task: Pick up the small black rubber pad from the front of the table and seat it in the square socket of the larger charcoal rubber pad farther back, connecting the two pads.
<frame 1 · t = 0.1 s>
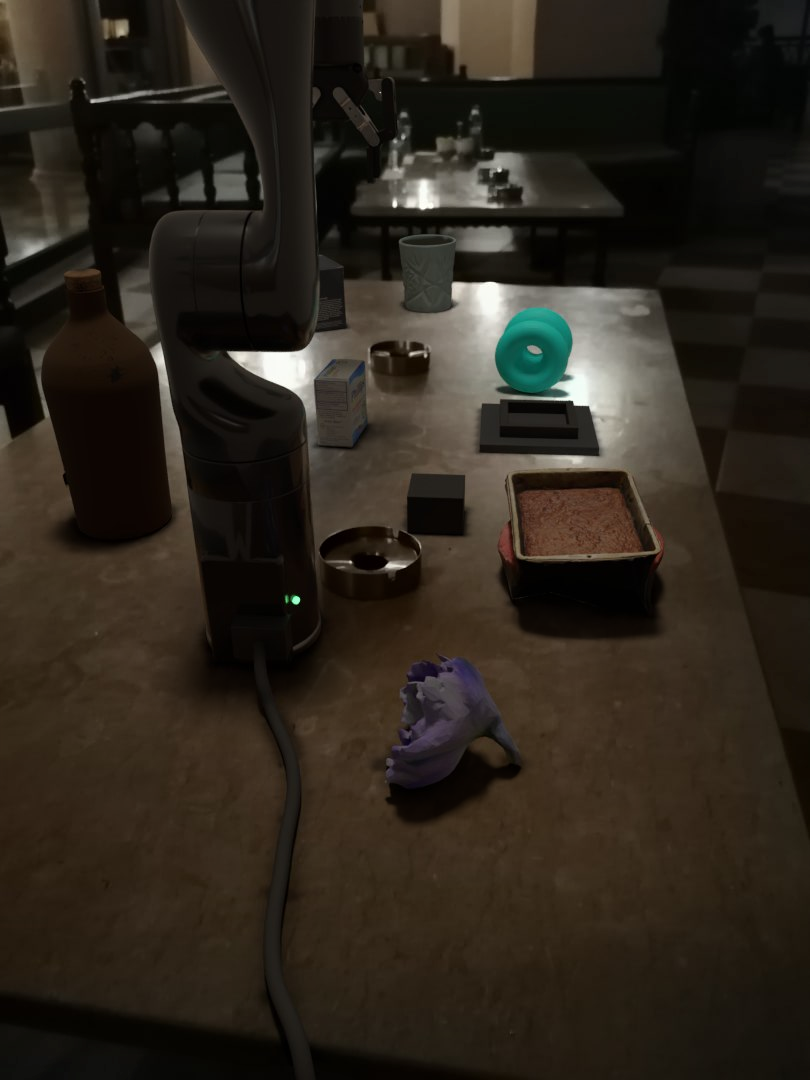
hand: (333, 182, 100), 29 cm above the table, tool pointing down, fingers open, 8 cm apart
grey green cup: (427, 307, 167), on the table
small box: (319, 323, 158), on the table
olive oil: (125, 520, 93), on the table
medicine box: (343, 437, 113), on the table
flower: (448, 761, 62), on the table
socket pad: (536, 431, 113), on the table
black pad: (436, 520, 92), on the table
donuts: (532, 385, 129), on the table
baking dish: (576, 579, 83), on the table
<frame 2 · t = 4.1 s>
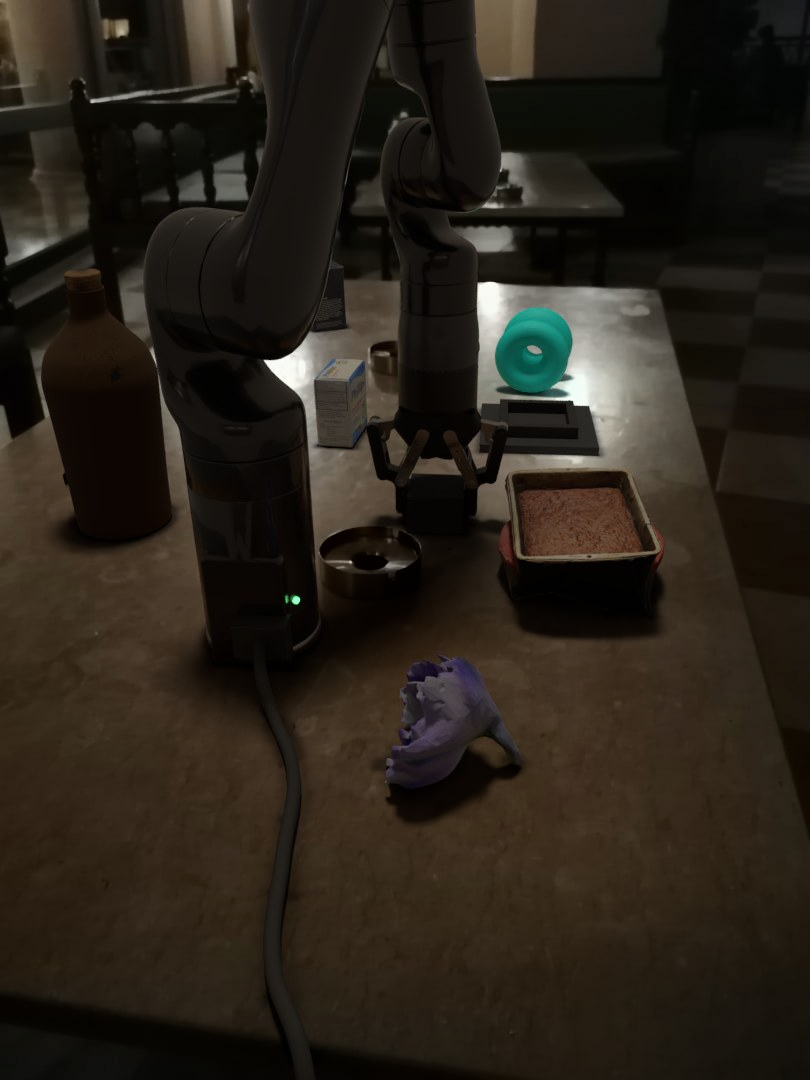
hand: (436, 516, 92), 1 cm above the table, tool pointing down, fingers closed on black pad, 5 cm apart
black pad: (436, 520, 92), on the table, touching gripper
everything else where it was.
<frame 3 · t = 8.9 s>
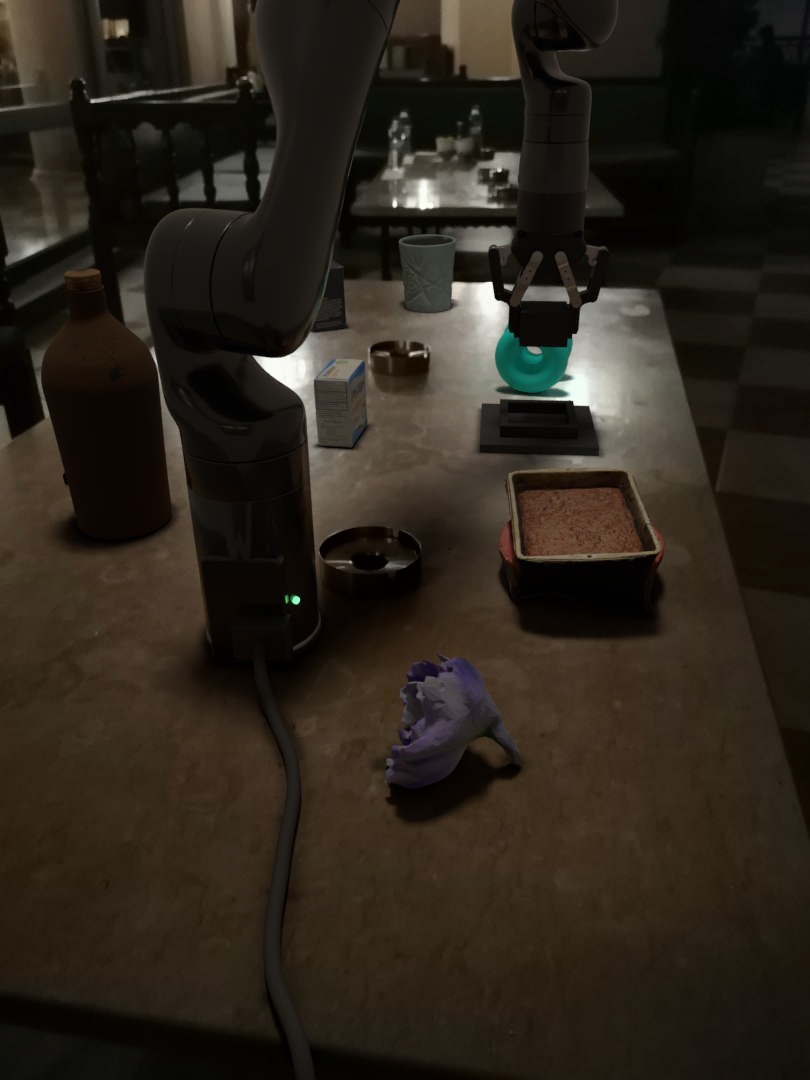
hand: (542, 336, 107), 12 cm above the table, tool pointing down, fingers closed on black pad, 5 cm apart
black pad: (542, 340, 108), point 12 cm above the table, touching gripper
everything else where it was.
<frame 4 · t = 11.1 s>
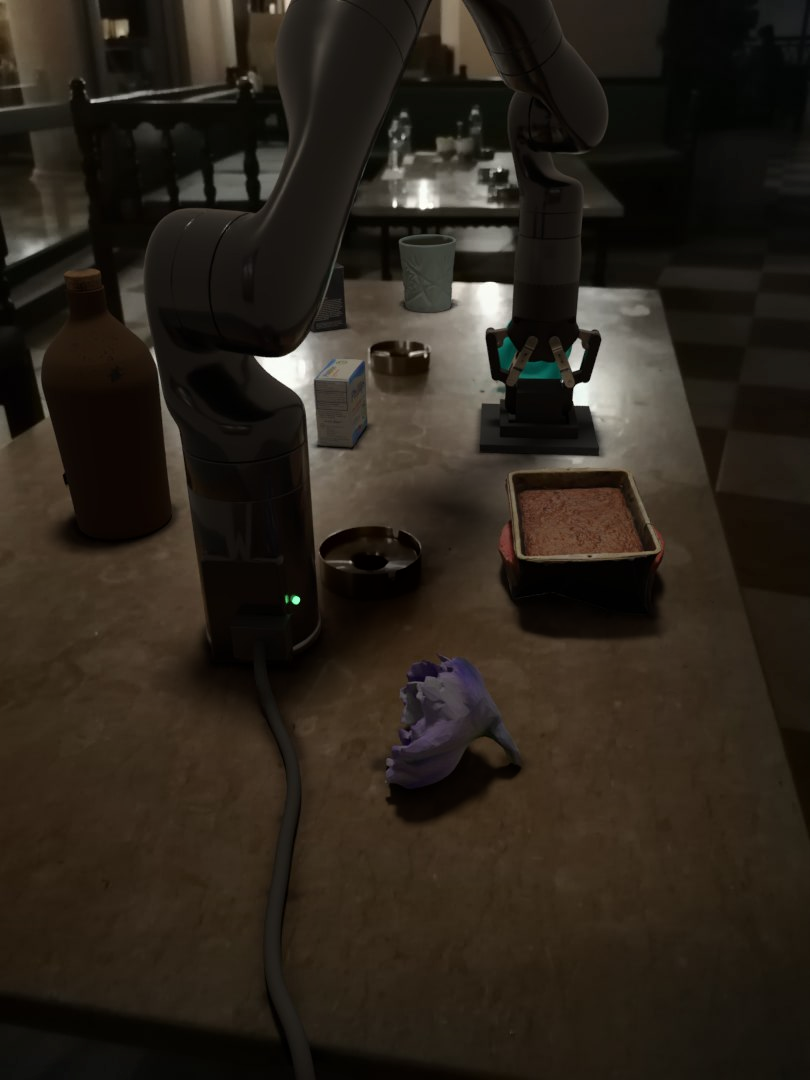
hand: (537, 412, 112), 2 cm above the table, tool pointing down, fingers closed on black pad, 5 cm apart
black pad: (537, 416, 112), point 2 cm above the table, touching gripper
everything else where it was.
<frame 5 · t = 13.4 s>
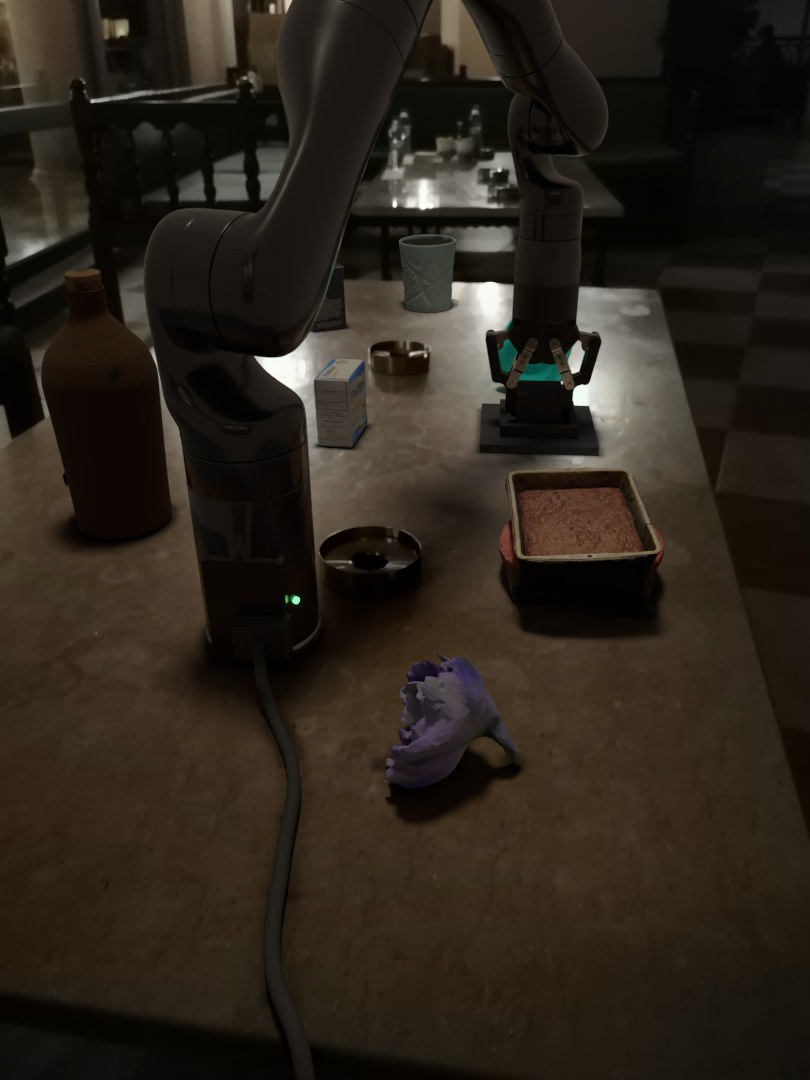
hand: (537, 414, 112), 2 cm above the table, tool pointing down, fingers closed on black pad, 5 cm apart
black pad: (537, 418, 112), point 2 cm above the table, touching gripper
everything else where it was.
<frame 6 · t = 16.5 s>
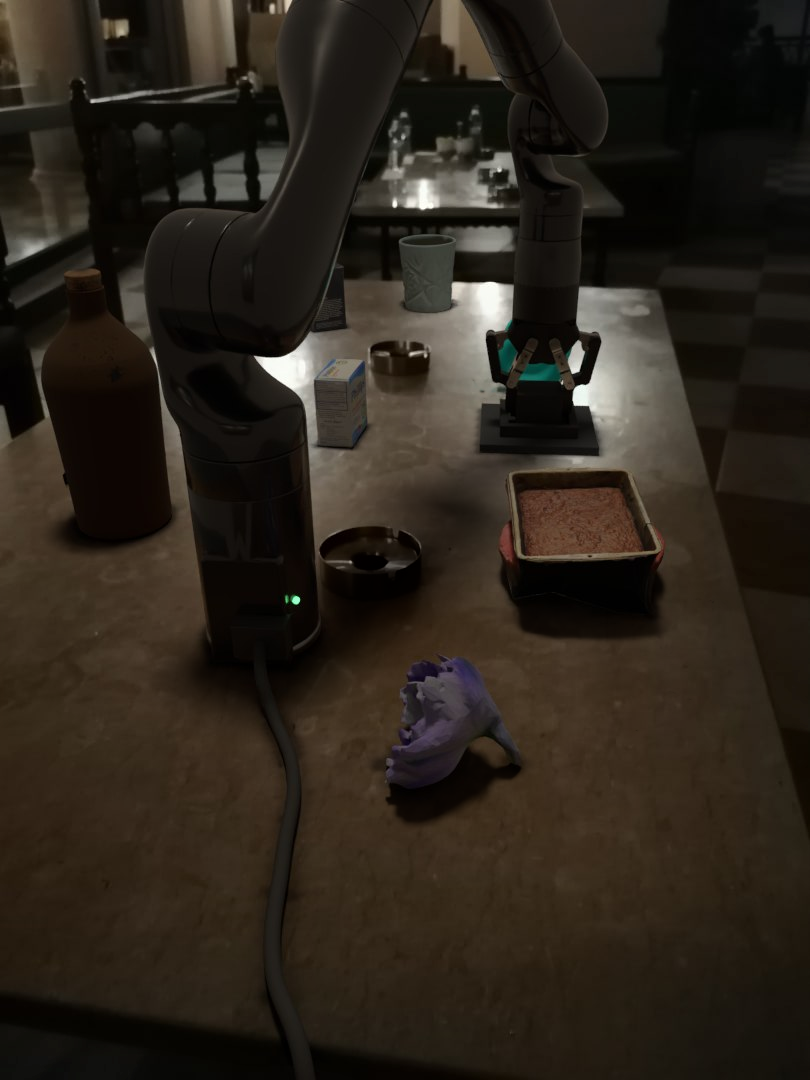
hand: (537, 414, 112), 2 cm above the table, tool pointing down, fingers closed on black pad, 5 cm apart
black pad: (537, 418, 112), point 2 cm above the table, touching gripper
everything else where it was.
when the fingers open (3 cm above the table, at t = 19.1 s): black pad drops 2 cm, resting on socket pad.
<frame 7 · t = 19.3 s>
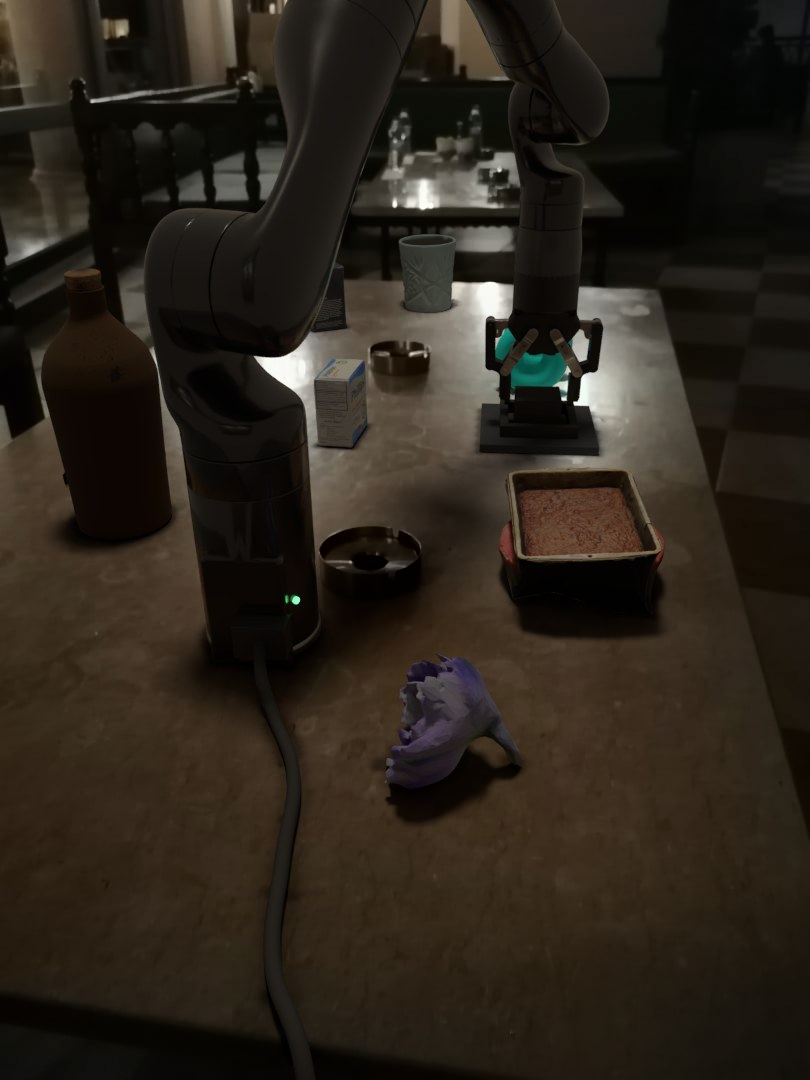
hand: (538, 403, 111), 4 cm above the table, tool pointing down, fingers open, 7 cm apart
black pad: (536, 424, 113), point 1 cm above the table, touching socket pad
everything else where it was.
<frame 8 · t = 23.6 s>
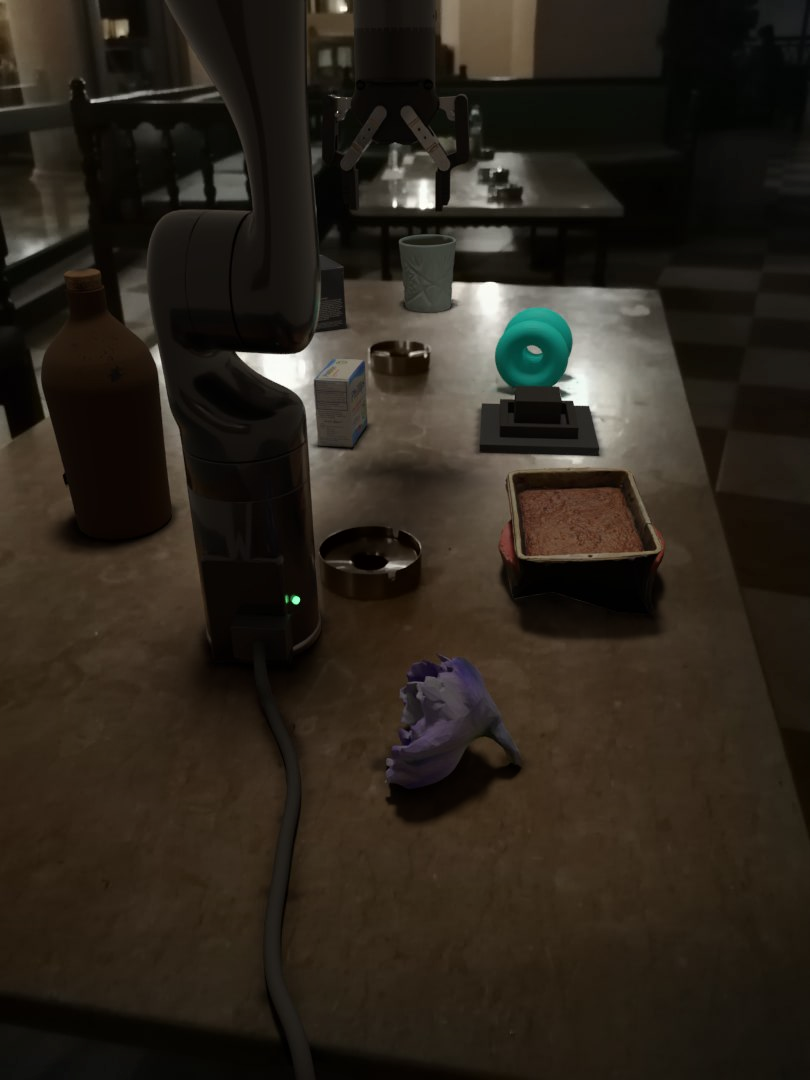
hand: (396, 210, 91), 28 cm above the table, tool pointing down, fingers open, 8 cm apart
nothing on the table moved.
at the end: black pad 0.1 cm off-centre on the socket pad, point 1.0 cm above the socket pad's base; black pad tilted 0°; the gripper is holding nothing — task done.
